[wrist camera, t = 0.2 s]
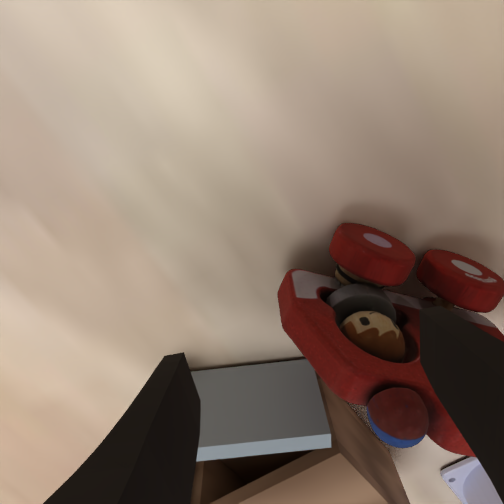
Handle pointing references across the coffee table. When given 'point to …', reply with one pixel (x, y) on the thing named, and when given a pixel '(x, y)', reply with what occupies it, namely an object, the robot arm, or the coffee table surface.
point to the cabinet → (308, 469)
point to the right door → (260, 410)
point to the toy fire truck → (384, 329)
